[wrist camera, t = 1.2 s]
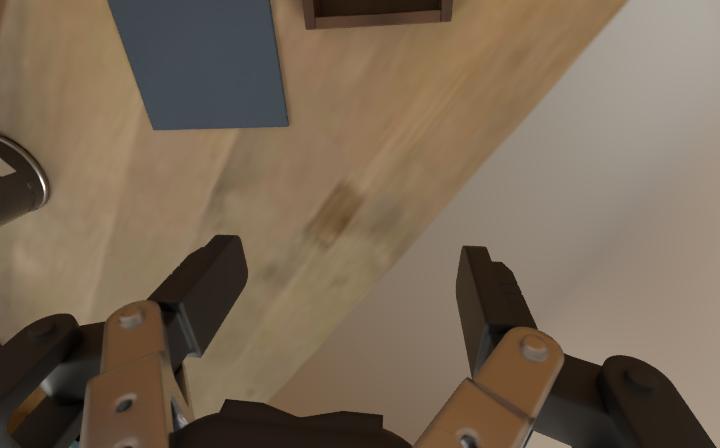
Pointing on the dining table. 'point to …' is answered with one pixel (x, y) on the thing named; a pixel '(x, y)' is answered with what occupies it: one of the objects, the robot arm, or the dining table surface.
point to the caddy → (374, 17)
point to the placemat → (204, 62)
